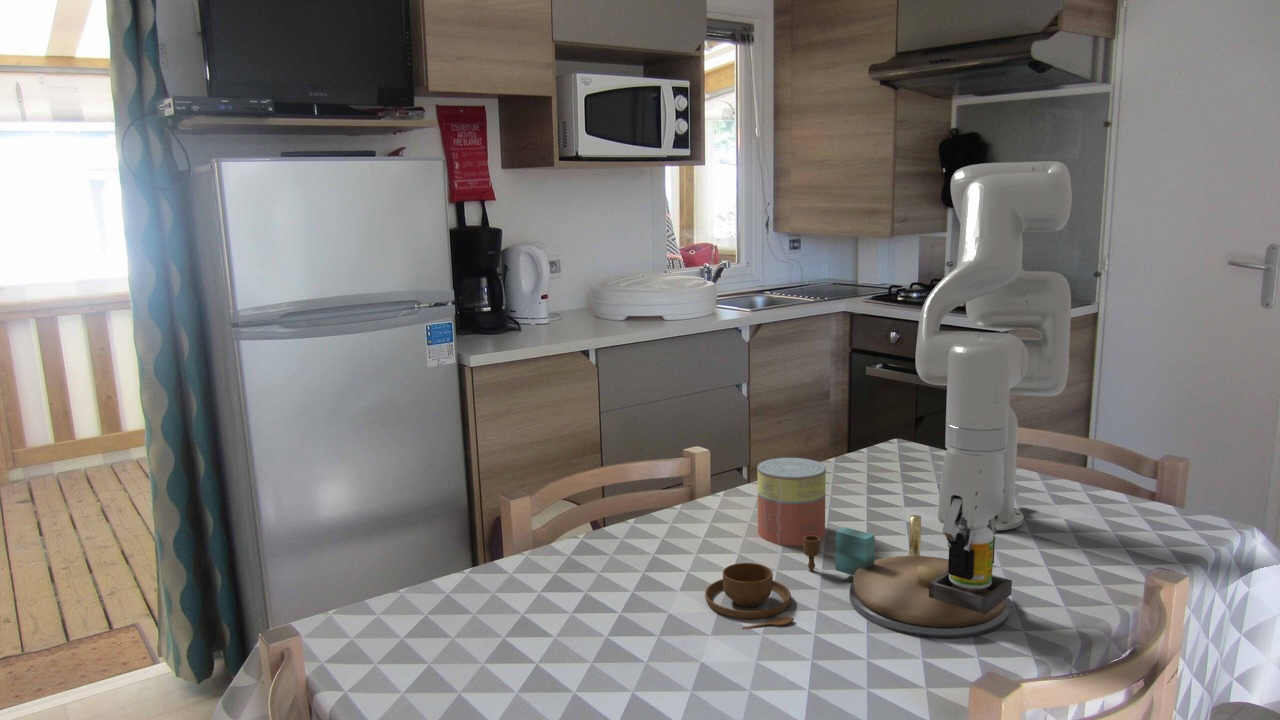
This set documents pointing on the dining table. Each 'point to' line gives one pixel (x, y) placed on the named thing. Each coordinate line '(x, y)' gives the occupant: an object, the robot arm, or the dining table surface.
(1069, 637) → the dining table surface
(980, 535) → the supplement bottle
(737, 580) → the place setting
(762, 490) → the canned food
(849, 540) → the turntable plate
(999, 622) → the flange base
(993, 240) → the robot arm
